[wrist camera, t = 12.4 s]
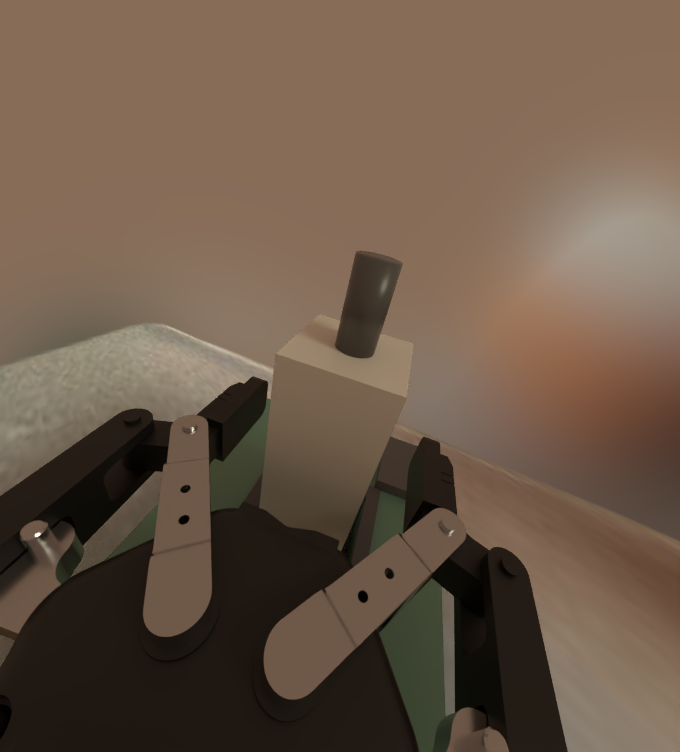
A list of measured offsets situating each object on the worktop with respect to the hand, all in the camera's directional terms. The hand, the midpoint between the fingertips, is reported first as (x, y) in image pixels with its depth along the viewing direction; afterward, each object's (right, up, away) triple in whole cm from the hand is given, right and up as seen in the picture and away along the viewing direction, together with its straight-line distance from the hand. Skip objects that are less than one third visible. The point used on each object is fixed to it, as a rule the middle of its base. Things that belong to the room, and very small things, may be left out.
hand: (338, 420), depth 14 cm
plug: (-2, -8, +3) cm, 9 cm away
